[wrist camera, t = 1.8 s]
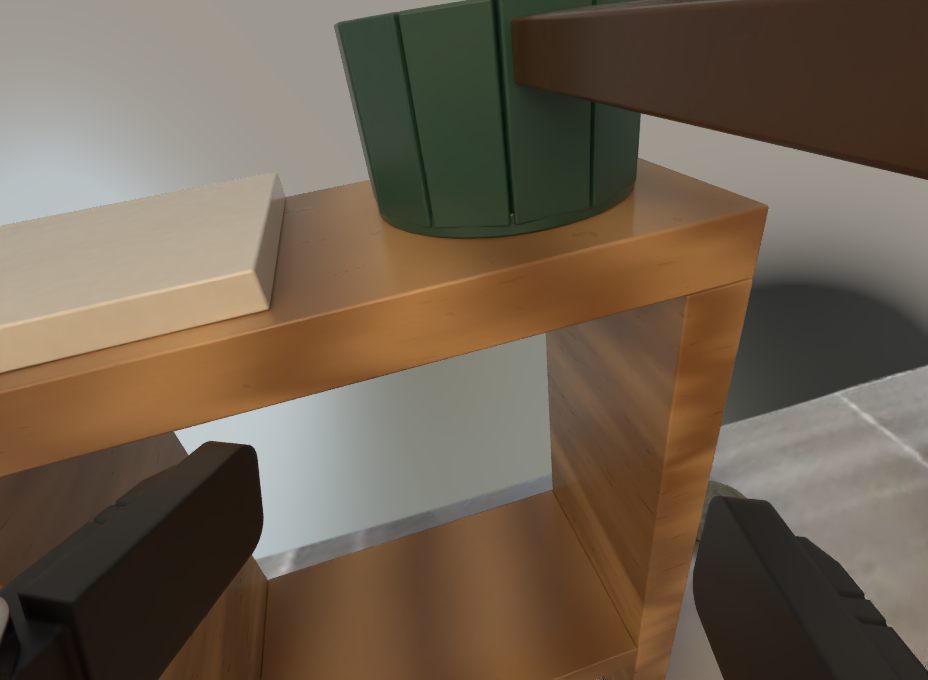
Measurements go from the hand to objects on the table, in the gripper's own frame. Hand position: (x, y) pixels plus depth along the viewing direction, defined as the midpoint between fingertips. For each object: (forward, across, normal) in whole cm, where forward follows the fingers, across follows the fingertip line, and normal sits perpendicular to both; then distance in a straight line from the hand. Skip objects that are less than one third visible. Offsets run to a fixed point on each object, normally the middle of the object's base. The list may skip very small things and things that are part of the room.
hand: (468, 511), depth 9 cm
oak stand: (+16, +1, +26) cm, 30 cm away
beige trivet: (+5, +11, -3) cm, 12 cm away
